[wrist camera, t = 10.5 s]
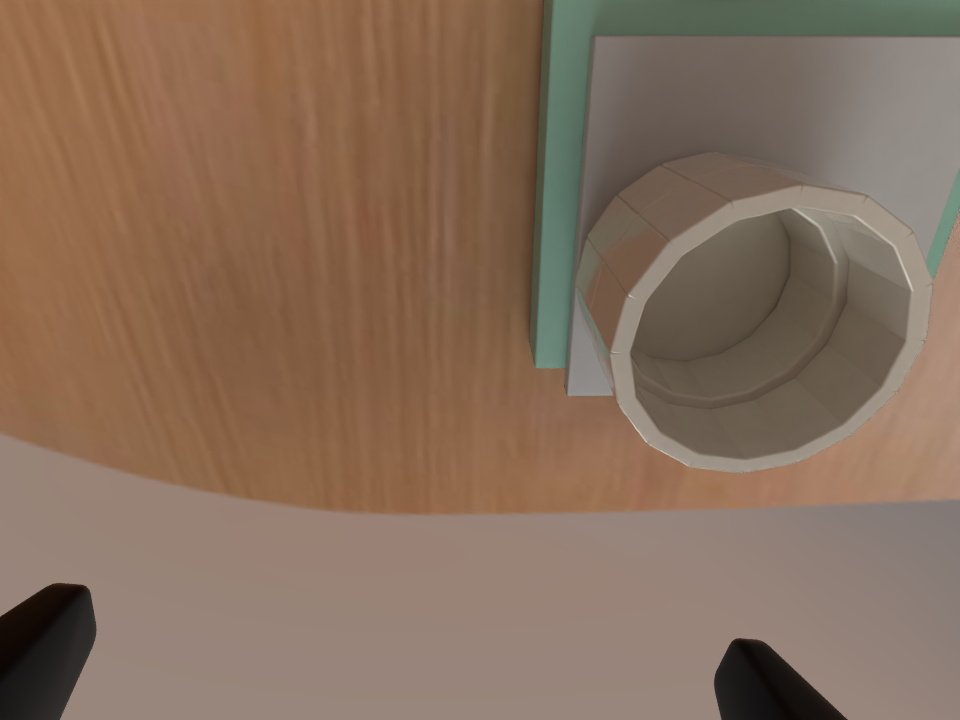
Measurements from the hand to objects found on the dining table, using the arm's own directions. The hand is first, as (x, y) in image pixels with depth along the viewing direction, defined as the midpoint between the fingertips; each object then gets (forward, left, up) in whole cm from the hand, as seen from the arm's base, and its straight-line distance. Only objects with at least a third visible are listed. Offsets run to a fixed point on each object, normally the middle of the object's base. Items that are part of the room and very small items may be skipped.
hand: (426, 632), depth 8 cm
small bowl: (+3, -6, -9) cm, 11 cm away
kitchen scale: (+6, -7, -11) cm, 15 cm away
